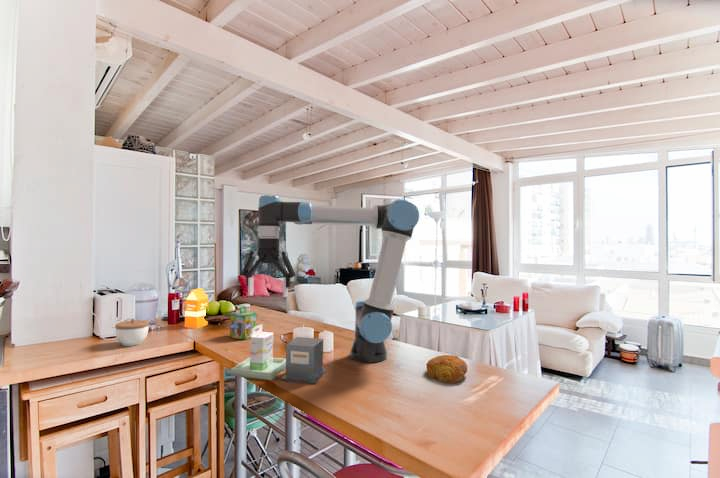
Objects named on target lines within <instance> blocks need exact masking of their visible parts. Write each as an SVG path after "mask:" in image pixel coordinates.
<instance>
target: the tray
mask: <svg viewBox="0 0 720 478" xmlns="http://www.w3.org/2000/svg"><path fill="white" fill-rule="evenodd" d="M283 370H284V371H285V370H286V358H283V357H282V358H281V357H273V364H272V365H270V366H269V367H267V368H266V369H264V370H263V371H258V370H250V356H249V357H247V358H245V359H244V360H243V361H241V362H240V363H238V364H236V365H235V366H234V367H232V368H230V377H239V378H248V379H255V380H256V379H257V380H266V381H272V380H273V379H274V378H275V377H276V376H278V375H279V374H280V373H282V372H283Z"/></svg>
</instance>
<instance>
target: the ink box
mask: <svg viewBox="0 0 720 478" xmlns="http://www.w3.org/2000/svg"><path fill="white" fill-rule="evenodd" d="M263 326H264V325H263V323H260V324H257V325H256V327H254V328H252V334H251V338H250V353H249V354H250V356H249V357H250V370H258V371H263V370H264V369H266V368H267V367H269V366H270V365H272V364H273V358H274V355H273V354H274V332H268V331H263ZM255 330H256V331H255Z"/></svg>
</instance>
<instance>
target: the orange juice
mask: <svg viewBox="0 0 720 478" xmlns="http://www.w3.org/2000/svg"><path fill="white" fill-rule="evenodd" d="M184 305H185V306H184V307H185V308H184V328H190V329H191V328H192V329H199V328H203V327H205V326H207V325H208V321H206V320H205V319H204V317H205V316H206V309H207V308H206V307H208V308H209V298H208V296H207V293H206V292H205V290H204V288H203V287H201V288H195V289H194V288H193V289H191V291H190V292H189V293H188V296H187V297H186V298H185V304H184Z"/></svg>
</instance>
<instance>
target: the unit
mask: <svg viewBox="0 0 720 478" xmlns="http://www.w3.org/2000/svg"><path fill="white" fill-rule="evenodd" d="M285 359H286V368H285V375H283V376H282V377H281V382H290V383H291V382H292V383H299V384H310V385H316V384H317V383H318V382H319V381H320V380H321V378H322V377H323V376H324V375H325V373H326V372H327V369H325V368H323V365H324V362H323V361H324V338H316V337H315V338H313V337H306V336H305V337H304V336H303V337H302V336H296V337H295V338H293V339H291V341H289V342H288V343H286V346H285Z"/></svg>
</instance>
